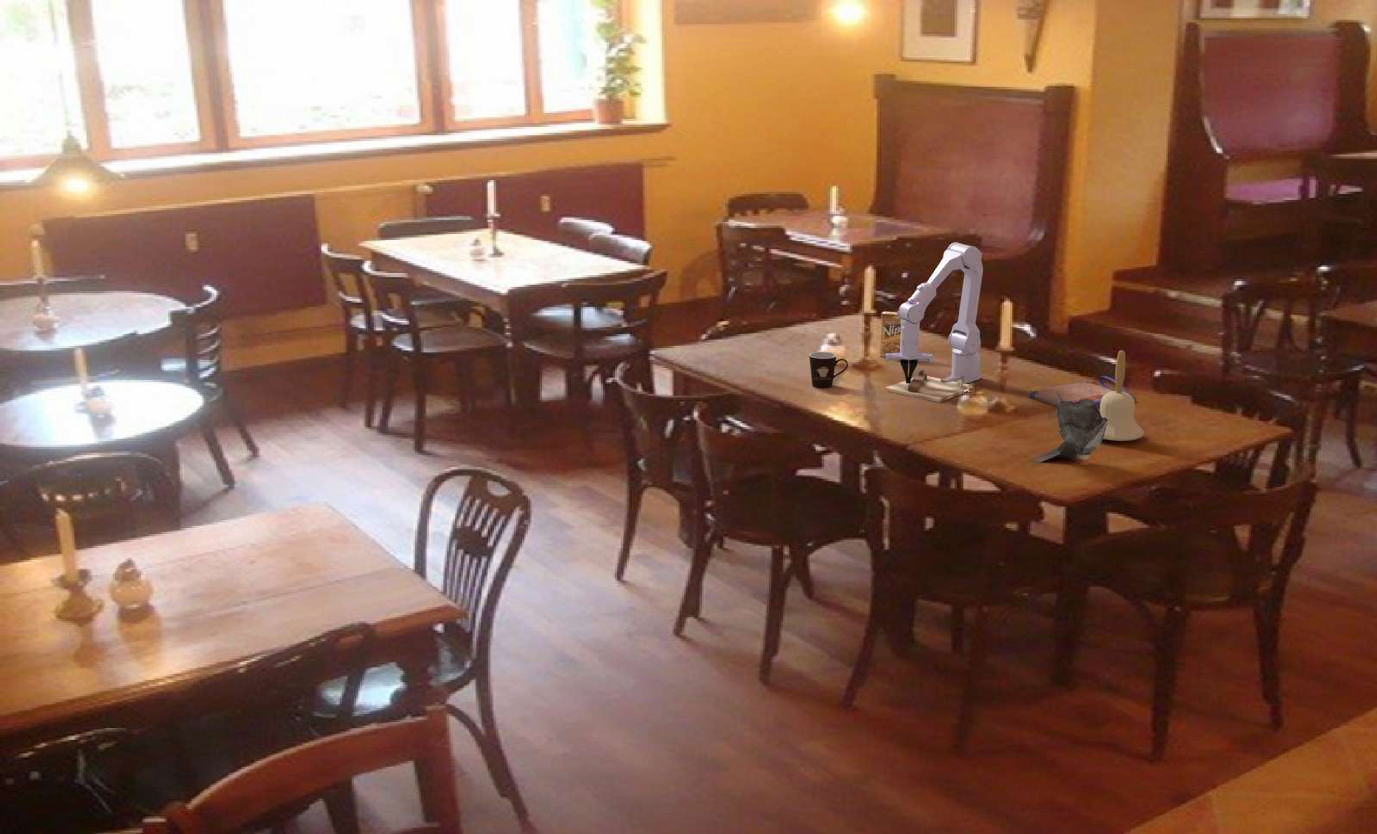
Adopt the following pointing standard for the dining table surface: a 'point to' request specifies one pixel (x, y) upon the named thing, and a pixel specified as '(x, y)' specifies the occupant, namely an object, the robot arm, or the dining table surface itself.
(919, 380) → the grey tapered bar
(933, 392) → the base board
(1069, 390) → the clutch
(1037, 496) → the dining table surface
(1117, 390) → the handbell
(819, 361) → the coffee mug
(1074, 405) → the grey bird figurine
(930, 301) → the robot arm
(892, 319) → the candy box
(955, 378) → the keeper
